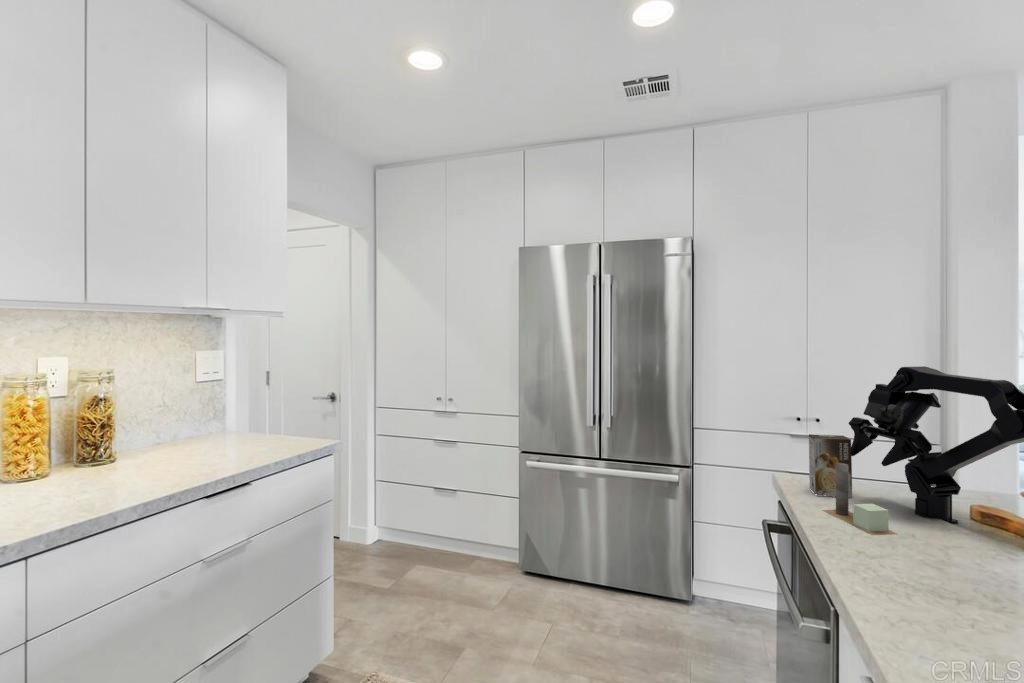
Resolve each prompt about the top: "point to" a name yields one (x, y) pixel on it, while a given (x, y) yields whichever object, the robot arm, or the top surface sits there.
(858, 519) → the sage cube
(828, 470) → the coffee box
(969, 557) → the top surface
